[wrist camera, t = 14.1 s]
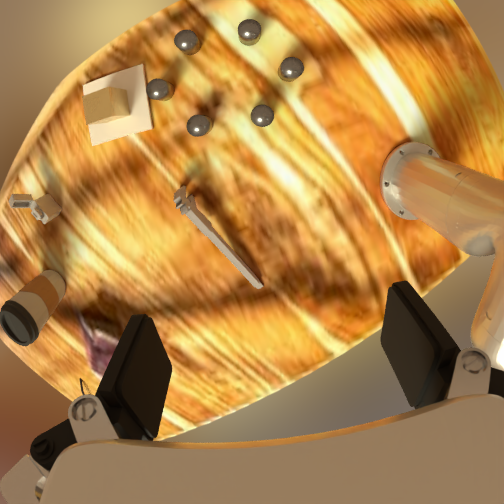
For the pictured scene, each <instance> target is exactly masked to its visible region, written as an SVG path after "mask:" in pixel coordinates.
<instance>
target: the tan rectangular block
mask: <svg viewBox="0 0 504 504" xmlns="http://www.w3.org/2000/svg"><path fill="white" fill-rule="evenodd" d="M82 98H83V106H84V113H85V119H86V125H91V124H101V123H108V122H111V121H114V120H117V119H121V118H124V117H127V116H130V109H129V103H128V96H127V90H125V89H120V88H114V87H109V86H108V87H106V88H103V89H100V90H98V91H95V92H92V93H90V94H87V95H85V96H82Z"/></svg>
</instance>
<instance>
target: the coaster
mask: <svg viewBox="0 0 504 504" xmlns="http://www.w3.org/2000/svg"><path fill="white" fill-rule="evenodd" d="M108 86H109V87H114V88H120V89H125V90H127V96H128V103H129V109H130V116H127V117H124V118H121V119H117V120H114V121H111V122H108V123H101V124H91V125H89V131H90V137H91V142H92V146H95V145H98V144H101V143H104V142H107V141H110V140H114V139H117V138H121V137H124V136H128V135H131V134H135V133H138V132H142V131H146V130H150V129H153V124H152V118H151V112H150V106H149V99H148V95H147V93H146V87H147V86H146V78H145V71H144V64H140V65H137V66H134V67H131V68H128V69H125V70H122V71H119V72H116V73H113V74H110V75H108V76H105V77H102V78H100V79H97V80H95V81H92V82H90V83H87V84H85V85H83V91H84V96H85V95H87V94H90V93H92V92H95V91H98V90H100V89H103V88H106V87H108Z"/></svg>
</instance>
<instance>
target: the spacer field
mask: <svg viewBox="0 0 504 504" xmlns="http://www.w3.org/2000/svg"><path fill="white" fill-rule="evenodd" d="M260 32H261V26H260V24H259V23H258V22H257V21H255V20H252V19H247V20H244V21H242V22H241V23H240V24H239V26H238V35H239V40H240V42H241V43H242V44H244V45H248V46H250V45H254V44H256V43H257V42H258V41H259V38H260ZM174 43H175V45H176V46H177V47H178V48H179V49H180V50H181V51H182V52H183V53H184V54H186V55H193V54H196V53H197V52H198V51H199V50H200V48H201V43H200V41H199V39H198V38H197V36H196V35H195V33H194V32H193V31H191V30H182V31H180V32H179V33H177V35H176V36H175V38H174ZM303 71H304V66H303V63H302V62H301V61H300V60H299V59H297V58H295V57H289V58H286V59H285V60H284V61H283V62H282V64H281V65H280V67H279V69H278V75H279V77H280V78H281V79H282V80H284V81H287V82H291V81H294V80H295V79H296V78H298V77H299V76H300V75H301V74H302V73H303ZM146 93H147V95H148V97H150V98H151V99H155V100H160V101H167V100H169V99H170V98H172V96H173V95H174V87H173V85H172V84H171V83H169V82H166V81H164V80H162V79H153V80H152V81H150V82H149V83H148V85H147V87H146ZM273 119H274V113H273V111H272V109H271V108H270V107H268V106H266V105H259V106H256V107H255V108H254V109H253V110H252V112H251V120H252V122H253V123H254V124H255V125H257V126H260V127H265V126H268V125H270V124H271V123H272V121H273ZM212 127H213V123H212V120H211V119H210V118H209V117H208V116H205V115H194V116H192V117H191V118H190V119H189V120H188V122H187V130H188V132H189V133H190V134H191V135H193V136H197V137H198V136H202V135H205V134H208V133H209V132H210V131H211V129H212Z"/></svg>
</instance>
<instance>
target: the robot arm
mask: <svg viewBox="0 0 504 504" xmlns="http://www.w3.org/2000/svg"><path fill="white" fill-rule="evenodd" d="M385 182H386V183H385ZM380 188H381V194H382V197H383V200H384V201H385V203H386V205H387V206H388V208H389V209H390V210H391V211H392V212H393V213H395V214H396V215H397V216H399V217H401V218H404V219H408V220H416V219H420V220H422V221H423V222H424V223H426V224H427V225H429V226H430V227H431V228H433V229H434V230H435V231H437V232H438V233H439V234H441V235H442V236H443V237H445V238H446V239H447V240H449V241H450V242H451V243H453V244H454V245H455V246H457V247H458V248H459V249H461V250H462V251H463V252H465V253H467V254H469V255H472V256H478V257H481V256H488V255H492V254H495V258H494V262H493V266H492V269H491V274H490V277H489V280H488V283H487V285H486V288H485V291H484V293H483V296H482V299H481V301H480V304H479V306H478V309H477V311H476V314H475V317H474V320H473V323H472V327H471V341H472V345H473V347H474V348H472V347H470V348H465V349H463V350H462V351H461V350H460V349H459V347H458V346H457V344H456V343H455V341H454V340H453V339H452V337H451V336H450V335H449V333H448V332H447V330H446V329H445V328H444V327H443V325H442V324H441V323H440V321H439V320H438V319H437V317H436V316H435V315H434V313H433V312H432V311H431V310H430V308H429V307H428V306H427V304H426V303H425V302H424V301H423V299H422V298H421V297H420V296H419V294H418V293H417V292H416V291H415V290H414V288H413V287H412V286H411V285H410V283H409V282H408V281H400V282H395V283H393V284H392V287H389V289H388V295H387V302H386V309H385V315H384V321H383V327H382V333H381V345H382V347H383V349H384V351H385V353H386V355H387V357H388V359H389V361H390V364H391V366H392V368H393V370H394V372H395V374H396V376H397V378H398V380H399V383H400V385H401V387H402V389H403V391H404V393H405V396H406V398H407V400H408V402H409V404H410V406H411V407H413V406H414V407H415V410H412V411H409V412H406V413H402V414H399V415H395V416H392V417H389V418H385V419H381V420H378V421H374V422H370V423H366V424H362V425H357V426H353V427H348V428H344V429H339V430H334V431H328V432H323V433H317V434H311V435H304V436H298V437H291V438H290V437H289V438H281V439H272V440H261V441H247V442H226V443H181V442H159V441H153V438H156V437H157V435H158V431H159V426H160V421H161V417H162V412H163V408H164V403H165V399H166V395H167V390H168V386H169V382H170V378H171V374H172V365H171V362H170V360H169V358H168V355H167V353H166V351H165V348H164V346H163V344H162V341H161V339H160V337H159V334H158V332H157V329H156V327H155V324H154V322H153V320H152V318H151V317H148V316H147V315H146V314H138V315H132V316H131V318H130V320H129V322H128V324H127V326H126V328H125V330H124V332H123V334H122V336H121V338H120V340H119V343H118V345H117V347H116V349H115V351H114V353H113V355H112V358H111V360H110V362H109V364H108V366H107V369H106V371H105V373H104V375H103V378H102V380H101V382H100V385H99V387H98V389H97V392H96V394H95V396H94V395H90V394H88V395H83V396H80V397H78V398H77V399H75V400H74V401H73V402H72V404H71V405H70V407H69V410H68V416H69V419H67V420H65V421H64V422H62V423H60V424H58V425H57V426H55V427H53V428H51V429H50V430H48V431H46V432H44V433H42V434H41V435H39V436H37V437H36V438H35V439H34V441H33V442H32V444H31V449H30V453H31V455H30V456H28V455H25V456H24V457H23V458H22V459H21V460H20V461H19V462H18V463H17V464H16V465H15V466H14V467H13V468H12V469H11V470H10V471H9V472H8V473H7V474H6V475H5V476H4V477H3V478H2V480H1V482H0V491H1V493H2V495H3V497H4V499H5V500H6V502H7V503H8V504H504V181H503V180H500V179H497V178H495V177H492V176H489V175H487V174H484V173H481V172H479V171H476V170H473V169H471V168H468V167H465V166H462V165H459V164H456V163H453V162H450V161H447V160H444V159H441V158H440V156H439V155H438V153H437V152H436V151H435V150H434V149H433V148H431V147H430V146H428V145H426V144H423V143H419V142H407V143H404V144H402V145H400V146H398V147H397V148H395V149H394V150H393V151H392V152H391V153H390V154H389V155H388V157H387V159H386V160H385V162H384V165H383V167H382V171H381V176H380ZM491 366H492V367H493V368H492V367H491Z"/></svg>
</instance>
